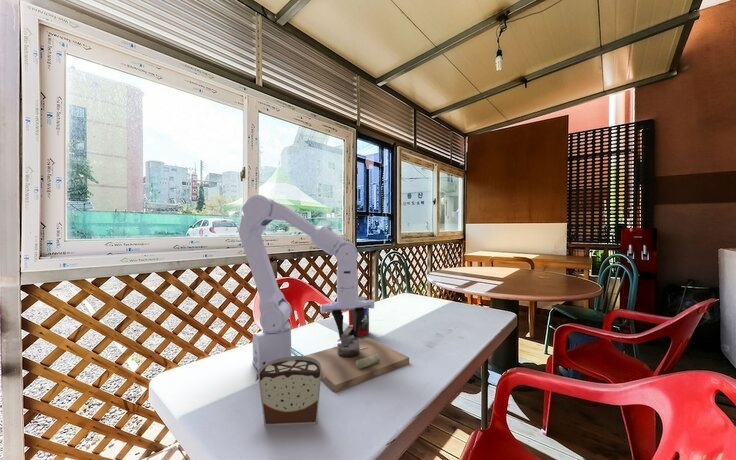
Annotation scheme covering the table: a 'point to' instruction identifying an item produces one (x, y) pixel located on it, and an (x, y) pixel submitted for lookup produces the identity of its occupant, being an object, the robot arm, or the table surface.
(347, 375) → the base
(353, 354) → the wing knob
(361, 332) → the beverage can
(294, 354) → the adjustable wrench
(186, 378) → the table surface
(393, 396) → the table surface
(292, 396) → the food container
